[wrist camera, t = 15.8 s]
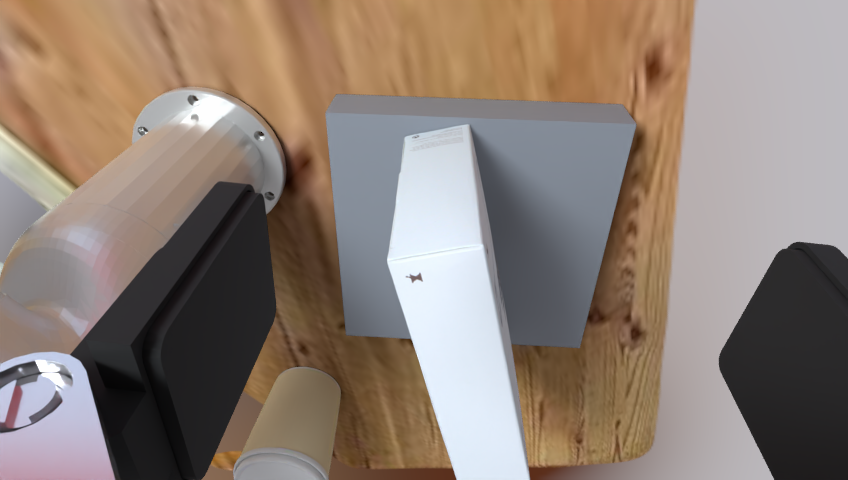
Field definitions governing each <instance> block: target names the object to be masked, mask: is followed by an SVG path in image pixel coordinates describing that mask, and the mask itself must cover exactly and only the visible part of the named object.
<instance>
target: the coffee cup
mask: <svg viewBox="0 0 848 480" xmlns="http://www.w3.org/2000/svg"><path fill="white" fill-rule="evenodd" d="M340 399H341V390H340V387H339V385H338V383H337V382H336V381H335V379H334V378H333V377H331V376H330V375H329V374H327V373H325V372H323V371H321V370H318V369H315V368H310V367H294V368H290V369H287V370H285V371H284V372H282V373H281V374H280V375H279V376H278V378H277V379H276V381H275V383H274V385H273V387H272V389H271V391H270V393H269V395H268V397H267V400H266V402H265V404H264V406H263V408H262V410H261V412H260V414H259V417H258V419H257V421H256V423H255V425H254V427H253V430H252V432H251V434H250V436H249V438H248V440H247V442H246V444H245V447H244V449H243V451H242V454H241V456H240V457H239V458H238V460H237V462H236V464H235V466H234V470H233V475H234V480H329V478H328V476H329V471H330V466H331V460H332V453H333V447H334V440H335V434H336V427H337V420H338V414H339V407H340Z"/></svg>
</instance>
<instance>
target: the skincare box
mask: <svg viewBox="0 0 848 480" xmlns="http://www.w3.org/2000/svg"><path fill="white" fill-rule="evenodd" d="M387 264H388V267H389V270H390V273H391V276H392V279H393V282H394V285H395V289H396V292H397V295H398V298H399V301H400V304H401V307H402V310H403V313H404V316H405V319H406V323H407V326H408V329H409V332H410V336H411V339H412V342H413V345H414V348H415V351H416V354H417V357H418V360H419V363H420V366H421V370H422V373H423V376H424V380H425V383H426V386H427V389H428V392H429V396H430V399H431V402H432V405H433V408H434V412H435V415H436V418H437V421H438V424H439V427H440V430H441V433H442V436H443V440H444V443H445V446H446V449H447V452H448V455H449V458H450V461H451V464H452V467H453V470H454V473H455V476H456V479H457V480H530V477H529V467H528V460H527V452H526V444H525V436H524V429H523V421H522V413H521V406H520V399H519V392H518V385H517V378H516V371H515V365H514V359H513V353H512V346H511V340H510V334H509V328H508V322H507V317H506V311H505V305H504V300H503V294H502V288H501V283H500V277H499V271H498V266H497V260H496V255H495V250H494V245H493V239H492V234H491V229H490V224H489V218H488V213H487V208H486V203H485V197H484V192H483V187H482V182H481V177H480V172H479V167H478V162H477V157H476V152H475V148H474V143H473V138H472V133H471V128H470V125H469V124H466V125H460V126H455V127H450V128H445V129H440V130H435V131H430V132H424V133H419V134H414V135H410V136H406V137H405V138H404V145H403V153H402V163H401V172H400V173H399V178H398V187H397V195H396V207H395V213H394V219H393V226H392V233H391V239H390V246H389V253H388V257H387Z"/></svg>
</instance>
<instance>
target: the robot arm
mask: <svg viewBox="0 0 848 480" xmlns="http://www.w3.org/2000/svg"><path fill="white" fill-rule="evenodd" d="M195 96H196V97H197V98H198V99H197V98H196V97H195ZM260 131H261V132H262V133H264V134H262V133H261V132H260ZM286 170H287V169H286V162H285V156H284V153H283V150H282V148H281V145H280V142H279V141H278V139H277V137H276V135H275V134H274V132H273V130H272V129H271V128H270V126H269V125H268V124H267V123H266V122H265V120H264V119H263V118H262V117H261V116H260V115H259V114H258V113H256V112H255V111H254V110H253V109H252V108H251V107H249V106H248V105H246V104H245V103H243V102H242V101H240V100H239V99H237V98H235V97H233V96H231V95H228V94H226V93H224V92H221V91H217V90H214V89H210V88H204V87H183V88H177V89H174V90H171V91H168V92H165V93H163V94H162V95H160V96H159V97H157V98H155V99H154V100H153V101H151V102H150V103H149V104H148V105H147V106H145V107H144V109H143V110H142V112H141V113H140V115H139V116H138V117H137V120H136V122H135V125H134V128H133V136H132V145H131V146H130V147H129V148H127V149H126V150H125V151H124V152H122V153H121V154H120V155H119V156H117V157H116V158H115V159H114V160H112V161H111V162H110V163H109V164H107V165H106V166H105V167H104V168H102V169H101V170H100V171H99V172H97V173H96V174H95V175H94V176H92V177H91V178H90V179H89V180H87V181H86V182H85V183H84V184H82V185H81V186H80V187H78V188H77V189H76V190H75V191H73V192H72V193H71V194H70V195H68V196H67V197H66V198H65V199H63V200H62V201H61V202H60V203H58V204H57V205H56V206H55V207H53V208H52V209H51V210H50V211H48V212H47V213H46V214H44V215H43V216H42V217H41V218H40V219H38V220H37V221H36V222H35V223H33V224H32V225H31V226H30V227H29V228H28V229H27V230H26V231H25V232H24V233H23V234H22V235H21V236H20V237H19V239H18V240H17V242H16V243H15V244H14V246H13V248H12V249H11V251H10V253H9V255H8V257H7V259H6V261H5V263H4V266H3V269H2V272H1V276H0V480H201V479H202V478H203V477H204V476H205V474H206V472H207V470H208V468H209V465H210V464H211V461H212V459H213V457H214V455H215V452H216V450H217V448H218V446H219V443H220V441H221V439H222V437H223V434H224V432H225V430H226V428H227V425H228V423H229V421H230V419H231V416H232V414H233V412H234V410H235V407H236V405H237V403H238V401H239V398H240V396H241V394H242V392H243V389H244V387H245V385H246V383H247V380H248V378H249V376H250V374H251V371H252V369H253V367H254V365H255V362H256V360H257V358H258V356H259V353H260V351H261V349H262V347H263V344H264V342H265V340H266V338H267V335H268V333H269V331H270V329H271V326H272V324H273V321H274V318H275V313H276V298H275V289H274V280H273V271H272V262H271V253H270V244H269V235H268V226H267V217H266V215H267V214H268V213H269V212H270V211H271V210H272V209H273V207H274V206H275V205H276V203H277V202H278V200H279V198H280V196H281V194H282V192H283V189H284V186H285V182H286ZM271 192H272V193H271ZM719 367H720V371H721V373H722V375H723V378H724V379H725V382H726V384H727V386H728V387H729V390H730V391H731V393H732V396H733V398H734V400H735V402H736V404H737V406H738V408H739V409H740V412H741V414H742V416H743V418H744V420H745V422H746V423H747V426H748V428H749V430H750V431H751V434H752V436H753V437H754V440H755V442H756V444H757V446H758V448H759V449H760V452H761V453H762V456H763V458H764V459H765V462H766V464H767V466H768V468H769V469H770V471H771V474H772V476H773V478H774V480H848V259H847V257H846V256H844V254H843V253H842V252H841V251H840V250H839V249H837V248H836V247H834V246H831V245H823V244H814V243H804V242H796V243H793V244H791V245H790V246H789V247H788V248H787V249H782V250H781V251H779V252H778V254H777V255H776V256H775V258H774V260H773V262H772V263H771V265H770V267H769V268H768V270H767V272H766V274H765V275H764V277H763V279H762V281H761V283H760V284H759V286H758V288H757V290H756V291H755V293H754V295H753V297H752V298H751V300H750V302H749V303H748V305H747V307H746V309H745V311H744V312H743V314H742V316H741V318H740V319H739V321H738V323H737V325H736V326H735V328H734V330H733V332H732V333H731V335H730V337H729V339H728V340H727V342H726V344H725V346H724V347H723V349H722V351H721V353H720V356H719Z"/></svg>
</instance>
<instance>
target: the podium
mask: <svg viewBox="0 0 848 480" xmlns="http://www.w3.org/2000/svg"><path fill="white" fill-rule="evenodd" d="M326 124H327V134H328V145H329V156H330V167H331V178H332V189H333V200H334V210H335V221H336V232H337V243H338V254H339V265H340V276H341V286H342V297H343V308H344V319H345V330H346V335H351V336H369V337H388V338H406V339H411V336H410V332H409V329H408V326H407V323H406V319H405V316H404V313H403V310H402V307H401V304H400V301H399V298H398V295H397V292H396V289H395V285H394V282H393V279H392V276H391V273H390V270H389V267H388V264H387V257H388V253H389V246H390V239H391V233H392V226H393V219H394V213H395V207H396V195H397V187H398V178H399V173H400V172H401V163H402V153H403V145H404V138H405V137H406V136H410V135H414V134H419V133H424V132H430V131H435V130H440V129H445V128H450V127H455V126H460V125H466V124H469V125H470V128H471V133H472V138H473V143H474V148H475V152H476V157H477V162H478V167H479V172H480V177H481V182H482V187H483V192H484V197H485V203H486V208H487V213H488V218H489V224H490V229H491V234H492V239H493V245H494V250H495V255H496V260H497V266H498V271H499V277H500V283H501V288H502V294H503V300H504V305H505V311H506V317H507V322H508V328H509V334H510V340H511V344H516V345H534V346H552V347H571V348H580V345H581V341H582V337H583V333H584V329H585V325H586V321H587V317H588V313H589V309H590V305H591V301H592V298H593V294H594V290H595V286H596V282H597V278H598V274H599V270H600V266H601V262H602V258H603V254H604V250H605V246H606V242H607V238H608V235H609V231H610V227H611V223H612V219H613V215H614V211H615V207H616V203H617V199H618V195H619V191H620V187H621V183H622V179H623V176H624V172H625V168H626V164H627V160H628V156H629V152H630V148H631V144H632V140H633V136H634V132H635V128H636V123H635V121H634V120H633V119H632V117H631V116H630V114H629V113H628V112H627V110H626V109H625V107H624V106H623V105H622V104H599V103H571V102H543V101H515V100H488V99H460V98H432V97H404V96H376V95H348V94H336V96H335V97H334V99H333V101H332V102H331V104H330V106H329V107H328V109H327V111H326Z"/></svg>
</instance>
